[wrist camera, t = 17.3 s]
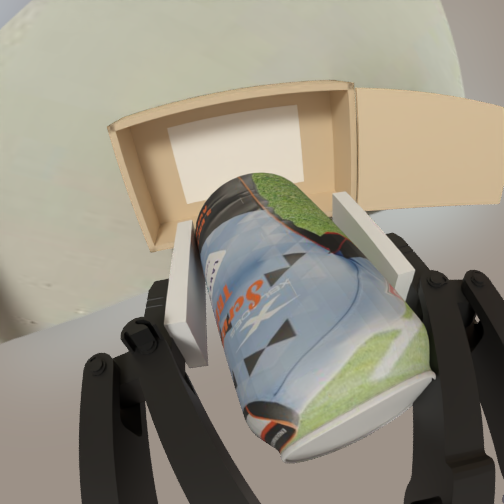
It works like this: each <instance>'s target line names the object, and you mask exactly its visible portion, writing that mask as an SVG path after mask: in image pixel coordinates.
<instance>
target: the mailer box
mask: <svg viewBox="0 0 504 504" xmlns="http://www.w3.org/2000/svg"><path fill="white" fill-rule="evenodd" d="M107 129H108V132H109V136H110V139H111V143H112V146H113V149H114V152H115V156H116V159H117V162H118V165H119V168H120V171H121V174H122V177H123V180H124V183H125V186H126V189H127V192H128V195H129V197H130V200H131V203H132V206H133V208H134V211H135V214H136V216H137V219H138V222H139V224H140V227H141V229H142V232H143V235H144V237H145V240H146V242H147V244H148V247H149V249H150V252H156V251H161V250H165V249H170V248H174V242H175V236H176V230H177V224H178V223H179V222H184V221H188V220H193V224H194V227H195V229H196V221H197V218H198V215H199V212H200V210H201V209H202V207H203V205H204V203H205V202H206V201H207V199H208V198H209V197H210V195H211V194H212V193H213V192H215V191H216V190H217V189H218V188H219V187H220V186H222V185H223V184H225V183H226V182H228V181H230V180H232V179H234V178H237V177H239V176H242V175H246V174H250V173H262V172H263V173H272V174H276V175H279V176H282V177H284V178H286V179H288V180H290V181H291V182H293V183H294V184H295V185H296V186H297V187H298V188H299V189H300V190H301V191H302V192H303V193H305V194H306V195H307V196H308V197H309V198H310V199H311V200H312V201H313V202H314V203H315V204H316V205H317V206H318V207H319V208H320V209H321V210H322V211H323V212H324V213H325V214H326V215H327V216H328V217H331V216H332V193H338V192H344V191H346V192H347V193H348V194H349V195H350V196H351V197H352V198H353V199H354V200H355V202H356V190H357V133H356V108H355V91H354V83H351V82H344V81H336V80H319V81H302V82H289V83H279V84H270V85H262V86H254V87H247V88H241V89H235V90H229V91H223V92H218V93H213V94H208V95H203V96H198V97H194V98H189V99H185V100H181V101H177V102H173V103H169V104H166V105H162V106H158V107H155V108H151V109H148V110H145V111H141V112H138V113H135V114H132V115H129V116H126V117H123V118H121V119H119V120H117V121H116V122H114V123H112V124H111V125H109V126H107Z"/></svg>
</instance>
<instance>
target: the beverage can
mask: <svg viewBox="0 0 504 504" xmlns="http://www.w3.org/2000/svg"><path fill="white" fill-rule="evenodd" d="M195 236H196V243H197V248H198V252H199V256H200V260H201V265H202V269H203V273H204V277H205V281H206V285H207V289H208V292H209V297H210V301H211V304H212V308H213V312H214V316H215V319H216V323H217V327H218V330H219V334H220V338H221V341H222V345H223V348H224V352H225V355H226V359H227V362H228V366H229V369H230V372H231V376H232V379H233V382H234V385H235V389H236V392H237V395H238V398H239V402H240V405H241V408H242V411H243V414H244V417H245V420H246V422H247V424H248V426H249V428H250V429H251V431H252V432H253V433H254V434H255V435H257V437H259V438H260V439H262V440H263V441H265V442H266V443H268V444H269V445H271V446H272V447H274V448H276V449H277V450H278V451H279V453H280V454H281V459H282V461H283V462H284V463H298V462H304V461H308V460H312V459H315V458H318V457H321V456H324V455H327V454H330V453H332V452H335V451H337V450H339V449H342V448H344V447H346V446H349V445H351V444H352V443H355V442H357V441H359V440H361V439H363V438H365V437H367V436H368V435H370V434H372V433H374V432H375V431H377V430H379V429H380V428H382V427H383V426H385V425H387V424H388V423H390V422H391V421H393V420H394V419H396V418H397V417H398V416H400V415H401V414H402V413H404V412H405V411H406V410H408V408H410V407H411V406H413V402H414V401H415V400H416V399H417V397H418V396H419V395H420V394H421V393H422V392H423V391H424V389H425V388H426V387H427V386H428V385H429V383H430V382H431V381H432V378H433V379H434V380H435V379H436V375H435V373H434V372H432V370H431V368H430V366H429V339H428V335H427V331H426V328H425V326H424V324H423V323H422V322H421V320H420V319H419V318H418V317H417V315H416V314H415V313H414V312H413V310H412V309H411V308H410V307H409V306H408V304H407V303H406V302H405V301H404V300H403V298H402V297H401V296H400V295H399V294H398V292H397V291H396V290H395V289H394V288H393V287H392V285H391V284H390V283H389V282H388V281H387V280H386V279H385V277H384V276H383V275H382V274H381V273H380V272H379V271H378V269H377V268H376V267H375V266H374V265H373V264H372V263H371V262H370V261H369V259H368V258H367V257H366V256H365V255H364V254H363V253H362V252H361V251H360V250H359V249H358V247H357V246H356V245H355V244H354V243H353V242H352V241H351V240H350V239H349V238H348V237H347V236H346V235H345V234H344V233H343V232H342V231H341V230H340V228H339V227H338V226H337V225H336V224H335V223H334V222H333V221H332V220H331V219H330V218H329V217H328V216H327V215H326V214H325V213H324V212H323V211H322V210H321V209H320V208H319V207H318V206H317V205H316V204H315V203H314V202H313V201H312V200H311V199H310V198H309V197H308V196H307V195H306V194H305V193H303V192H302V191H301V190H300V189H299V188H298V187H297V186H296V185H295V184H294V183H293V182H291V181H290V180H288V179H286V178H284V177H282V176H279V175H276V174H272V173H263V172H262V173H250V174H246V175H242V176H239V177H237V178H234V179H232V180H230V181H228V182H226V183H225V184H223V185H222V186H220V187H219V188H218V189H217V190H216V191H215V192H213V193H212V194H211V195H210V197H209V198H208V199H207V201H206V202H205V203H204V205H203V207H202V209H201V210H200V212H199V215H198V218H197V221H196V229H195Z"/></svg>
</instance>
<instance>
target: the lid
mask: <svg viewBox="0 0 504 504" xmlns="http://www.w3.org/2000/svg"><path fill="white" fill-rule="evenodd" d="M355 92H356V109H357V137H358V183H357V204H358V205H359V206H360V207H361V208H362V209H363V210H364V211H373V210H387V209H402V208H417V207H435V206H457V205H480V204H499V203H500V199H501V195H502V190H503V187H504V107H501V106H497V105H493V104H489V103H484V102H480V101H475V100H471V99H466V98H460V97H455V96H449V95H442V94H435V93H427V92H419V91H409V90H397V89H380V88H355Z"/></svg>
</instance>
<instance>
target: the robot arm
mask: <svg viewBox="0 0 504 504" xmlns="http://www.w3.org/2000/svg"><path fill="white" fill-rule="evenodd" d="M332 221H333V222H334V223H335V224H336V225H337V226H338V227H339V228H340V230H341V231H342V232H343V233H344V234H345V235H346V236H347V237H348V238H349V239H350V240H351V241H352V242H353V243H354V244H355V245H356V246H357V247H358V249H359V250H360V251H361V252H362V253H363V254H364V255H365V256H366V257H367V258H368V259H369V261H370V262H371V263H372V264H373V265H374V266H375V267H376V268H377V269H378V271H379V272H380V273H381V274H382V275H383V276H384V277H385V279H386V280H387V281H388V282H389V283H390V284H391V285H392V287H393V288H394V289H395V290H396V291H397V292H398V294H399V295H400V296H401V297H402V298H403V300H404V301H405V302H406V303H407V304H408V306H409V307H410V308H411V309H412V310H413V312H414V313H415V314H416V315H417V317H418V318H419V319H420V320H421V322H422V323H423V324H424V326H425V328H426V331H427V335H428V339H429V366H430V368H431V370H432V372H434V373H435V375H436V379H435V380H434V379H433V378H432V381H431V382H430V383H429V385H428V386H427V387H426V388H425V389H424V391H423V392H422V393H421V394H420V395H419V396H418V397H417V399H416V400H415V401H414V402H413V464H412V476H411V480H410V482H409V484H408V486H407V489H406V492H405V498H404V504H494V495H495V464H494V461H493V459H492V458H491V457H489V456H488V455H486V453H485V450H484V439H483V438H484V437H483V425H482V415H481V407H480V403H481V406H482V408H483V411H484V414H485V417H486V420H487V423H488V427H489V430H490V433H491V436H492V440H493V443H494V447H495V451H496V455H497V459H498V463H499V466H500V470H501V473H502V476H503V478H504V300H503V298H502V297H501V296H500V294H499V293H498V291H497V290H496V288H495V287H494V285H493V284H492V283H491V281H490V280H489V278H488V277H487V276H486V275H485V274H483V273H482V272H480V271H477V270H470V271H468V272H466V274H465V276H464V278H463V280H448V278H447V277H446V276H445V275H444V274H443V273H440V272H438V271H434V270H429V268H428V267H427V266H426V265H425V264H424V262H423V261H422V260H421V259H420V258H419V257H418V256H417V255H416V253H415V252H413V250H412V249H411V247H410V246H408V244H407V243H406V242H405V241H404V240H403V239H402V238H401V237H400V236H398V235H396V234H394V233H389V234H385V233H384V232H383V231H382V230H381V229H380V228H379V226H378V225H377V224H376V223H375V222H374V221H373V220H372V219H371V218H370V216H369V215H368V214H367V213H366V212H365V211H364V210H363V209H362V208H361V207H360V206H359V205H358V204H357V203H356V202H355V200H354V199H353V198H352V197H351V196H350V195H349V194H348V193H347V192H346V191H344V192H338V193H332ZM147 300H148V301H147V304H146V309H145V315H144V317H139V318H135V319H133V320H132V321H130V322H128V323H127V325H126V326H125V327H124V328H123V330H122V332H121V340H122V342H123V343H124V344H125V346H126V347H127V348H128V350H129V352H127V353H125V354H122V355H120V356H117V357H115V358H113V359H112V358H111V356H110V355H108V354H106V353H98V354H95V355H93V356H92V357H91V358H90V359H89V360H88V361H87V363H86V364H85V367H84V371H83V380H82V391H81V405H80V423H79V468H80V486H81V499H82V504H158V501H157V496H156V490H155V484H154V478H153V471H152V464H151V458H150V449H149V441H148V431H147V420H146V407H145V401H146V403H147V406H148V408H149V411H150V414H151V417H152V420H153V423H154V425H155V428H156V430H157V433H158V435H159V438H160V441H161V443H162V445H163V448H164V450H165V453H166V455H167V457H168V460H169V462H170V464H171V466H172V468H173V471H174V473H175V475H176V477H177V479H178V481H179V483H180V485H181V487H182V489H183V491H184V493H185V495H186V497H187V499H188V501H189V503H190V504H261V503H260V502H259V500H258V499H257V497H256V496H255V494H254V493H253V491H252V490H251V488H250V487H249V485H248V484H247V482H246V481H245V479H244V478H243V476H242V474H241V473H240V471H239V470H238V468H237V466H236V465H235V463H234V461H233V460H232V458H231V456H230V455H229V453H228V451H227V450H226V448H225V446H224V444H223V442H222V441H221V439H220V437H219V435H218V434H217V432H216V430H215V428H214V426H213V424H212V423H211V421H210V419H209V417H208V415H207V413H206V411H205V409H204V407H203V405H202V403H201V401H200V399H199V397H198V396H197V393H196V391H195V389H194V387H193V385H192V383H191V381H190V379H189V377H188V375H187V374H186V372H185V362H186V364H187V365H188V367H189V368H195V367H202V366H208V354H207V330H206V293H205V277H204V273H203V269H202V265H201V260H200V256H199V252H198V248H197V243H196V236H195V227H194V224H193V220H188V221H184V222H179V223H178V224H177V230H176V236H175V242H174V249H173V255H172V262H171V269H170V277H169V279H165V280H160V281H155V282H154V284H153V285H152V287H151V288H150V290H149V293H148V299H147ZM476 315H477V316H478V318H479V319H480V321H479V322H476V320H475V317H476ZM502 502H503V503H504V495H503V498H502Z"/></svg>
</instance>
